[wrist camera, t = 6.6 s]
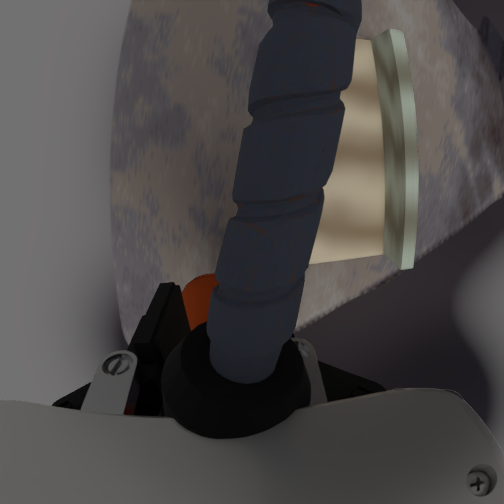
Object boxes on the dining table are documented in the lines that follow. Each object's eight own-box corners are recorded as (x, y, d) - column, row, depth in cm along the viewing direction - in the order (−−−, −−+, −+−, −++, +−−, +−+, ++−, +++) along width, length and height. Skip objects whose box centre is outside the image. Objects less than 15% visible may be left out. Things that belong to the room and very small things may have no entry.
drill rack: (271, 42, 23) (281, 19, 17) (376, 47, 23) (404, 31, 17) (292, 258, 30) (304, 284, 25) (387, 246, 31) (414, 267, 25)
